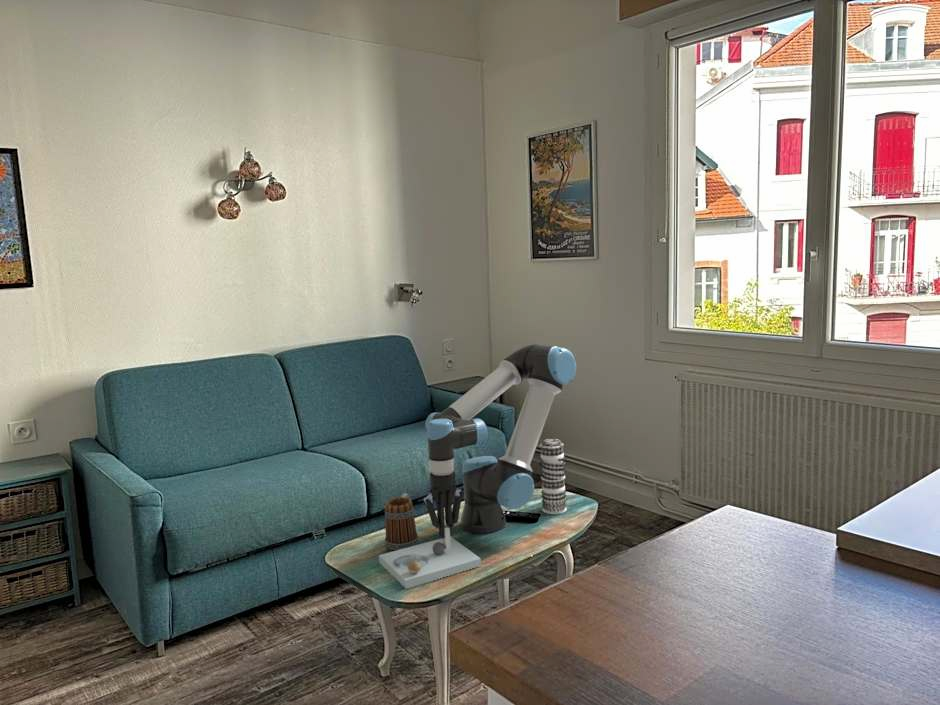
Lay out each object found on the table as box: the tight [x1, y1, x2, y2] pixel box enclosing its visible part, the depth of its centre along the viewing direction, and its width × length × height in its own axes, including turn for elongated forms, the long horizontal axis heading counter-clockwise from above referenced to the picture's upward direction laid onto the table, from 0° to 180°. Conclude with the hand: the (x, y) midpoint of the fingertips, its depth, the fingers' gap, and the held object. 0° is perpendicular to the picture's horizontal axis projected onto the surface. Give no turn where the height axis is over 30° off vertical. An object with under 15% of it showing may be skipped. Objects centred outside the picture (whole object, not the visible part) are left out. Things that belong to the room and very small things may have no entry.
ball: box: [432, 542, 445, 555], centre depth 216 cm, size 4×4×4 cm
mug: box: [384, 492, 419, 552], centre depth 230 cm, size 16×11×15 cm
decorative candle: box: [538, 438, 568, 515], centre depth 251 cm, size 9×9×25 cm
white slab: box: [378, 536, 482, 590], centre depth 215 cm, size 24×20×2 cm
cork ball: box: [408, 560, 420, 574], centre depth 204 cm, size 4×4×4 cm
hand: (446, 547), depth 217 cm, fingers closed
